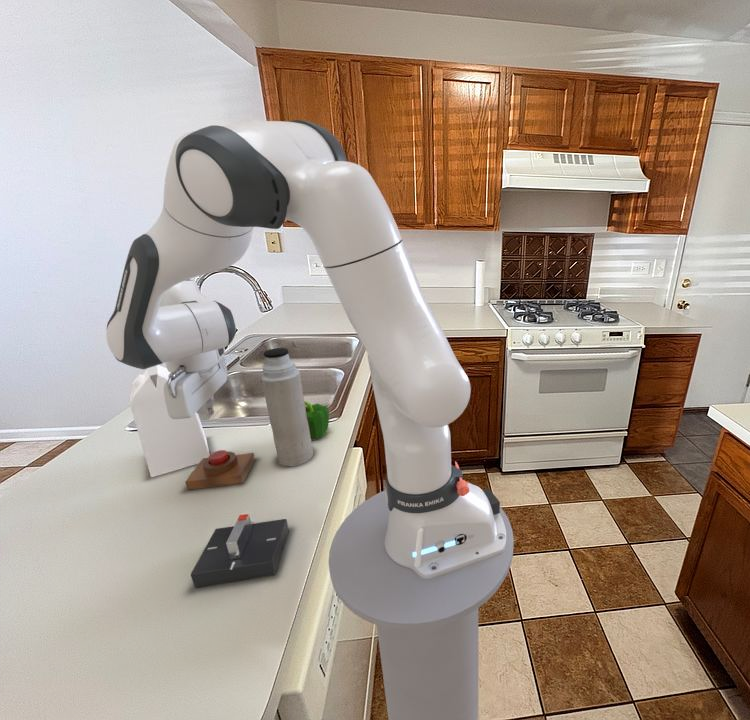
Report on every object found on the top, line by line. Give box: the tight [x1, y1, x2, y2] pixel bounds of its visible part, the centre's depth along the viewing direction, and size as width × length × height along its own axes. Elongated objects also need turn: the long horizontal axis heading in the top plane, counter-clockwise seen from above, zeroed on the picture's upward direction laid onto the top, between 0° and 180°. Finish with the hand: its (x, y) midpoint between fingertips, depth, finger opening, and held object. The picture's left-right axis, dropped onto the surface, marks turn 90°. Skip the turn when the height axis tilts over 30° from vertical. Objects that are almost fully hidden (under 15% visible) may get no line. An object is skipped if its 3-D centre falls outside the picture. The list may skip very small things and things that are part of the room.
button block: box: [184, 451, 256, 491], centre depth 91 cm, size 11×9×4 cm
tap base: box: [190, 518, 290, 589], centre depth 69 cm, size 12×11×3 cm
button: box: [209, 449, 229, 465], centre depth 90 cm, size 4×4×2 cm
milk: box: [129, 364, 210, 478], centre depth 94 cm, size 12×12×26 cm
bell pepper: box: [304, 400, 330, 441], centre depth 106 cm, size 8×8×10 cm
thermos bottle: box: [260, 347, 314, 467], centre depth 93 cm, size 8×8×28 cm
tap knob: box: [226, 513, 253, 559], centre depth 68 cm, size 6×2×4 cm, turn 13°
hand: (207, 417), depth 86 cm, fingers closed
